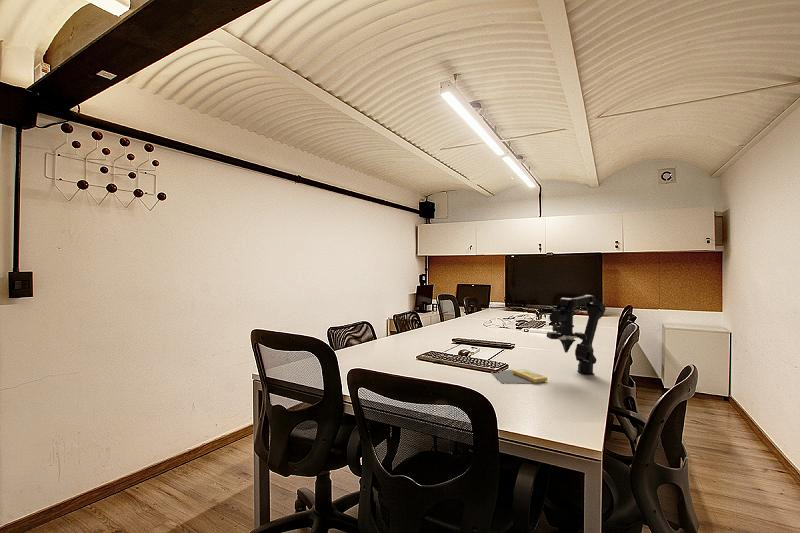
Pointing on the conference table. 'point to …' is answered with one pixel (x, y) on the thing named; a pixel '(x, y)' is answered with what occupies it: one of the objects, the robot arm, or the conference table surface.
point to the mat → (512, 378)
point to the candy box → (530, 375)
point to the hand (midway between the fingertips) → (566, 352)
